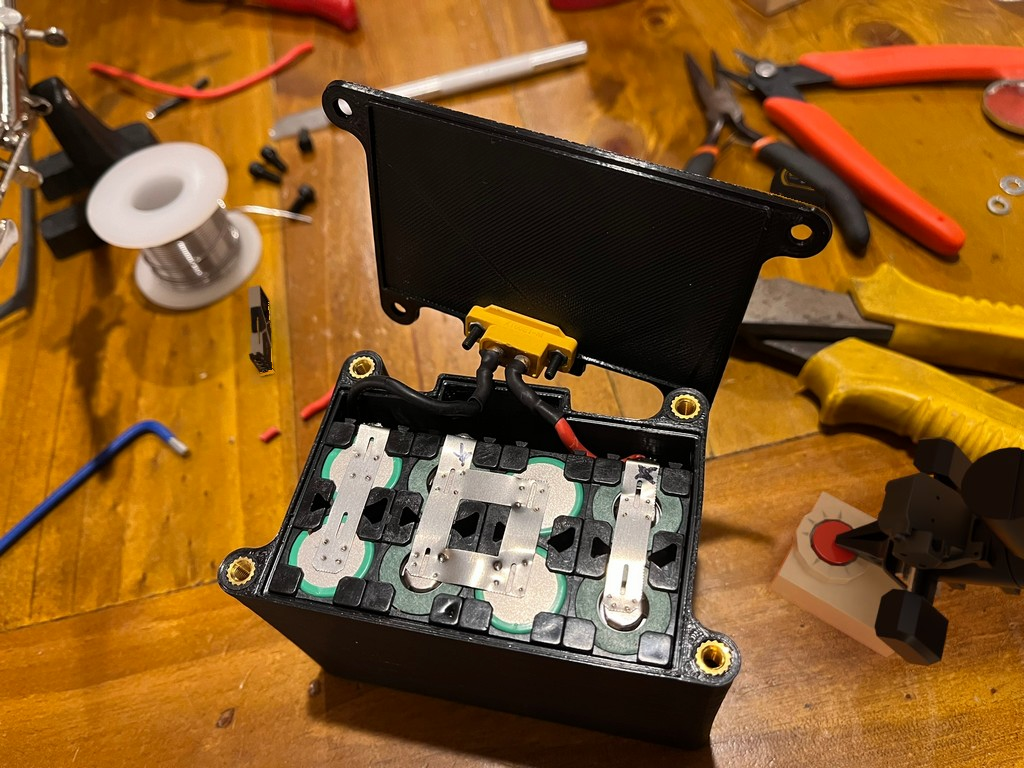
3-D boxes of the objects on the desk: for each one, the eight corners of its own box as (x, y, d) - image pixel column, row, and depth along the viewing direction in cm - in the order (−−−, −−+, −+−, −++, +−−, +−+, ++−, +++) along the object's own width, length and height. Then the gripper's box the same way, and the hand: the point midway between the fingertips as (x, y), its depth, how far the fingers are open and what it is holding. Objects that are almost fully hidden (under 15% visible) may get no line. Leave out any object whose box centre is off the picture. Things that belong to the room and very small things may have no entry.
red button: (860, 541, 74) (865, 535, 72) (842, 576, 72) (847, 570, 71) (820, 519, 75) (824, 513, 74) (802, 553, 74) (806, 547, 72)
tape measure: (765, 216, 101) (770, 196, 98) (769, 177, 104) (775, 156, 101) (820, 221, 99) (827, 201, 96) (823, 182, 103) (830, 161, 99)
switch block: (925, 570, 77) (953, 549, 71) (886, 657, 73) (911, 643, 67) (806, 506, 81) (822, 481, 75) (763, 586, 78) (777, 566, 72)
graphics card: (275, 375, 97) (271, 353, 93) (253, 377, 97) (248, 355, 93) (270, 302, 103) (266, 278, 99) (250, 303, 102) (245, 279, 98)
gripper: (994, 392, 60) (815, 410, 72) (950, 618, 52) (758, 594, 65) (1055, 467, 64) (876, 472, 77) (1022, 685, 57) (830, 651, 69)
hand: (837, 541), depth 72 cm, fingers closed, pressing on red button
